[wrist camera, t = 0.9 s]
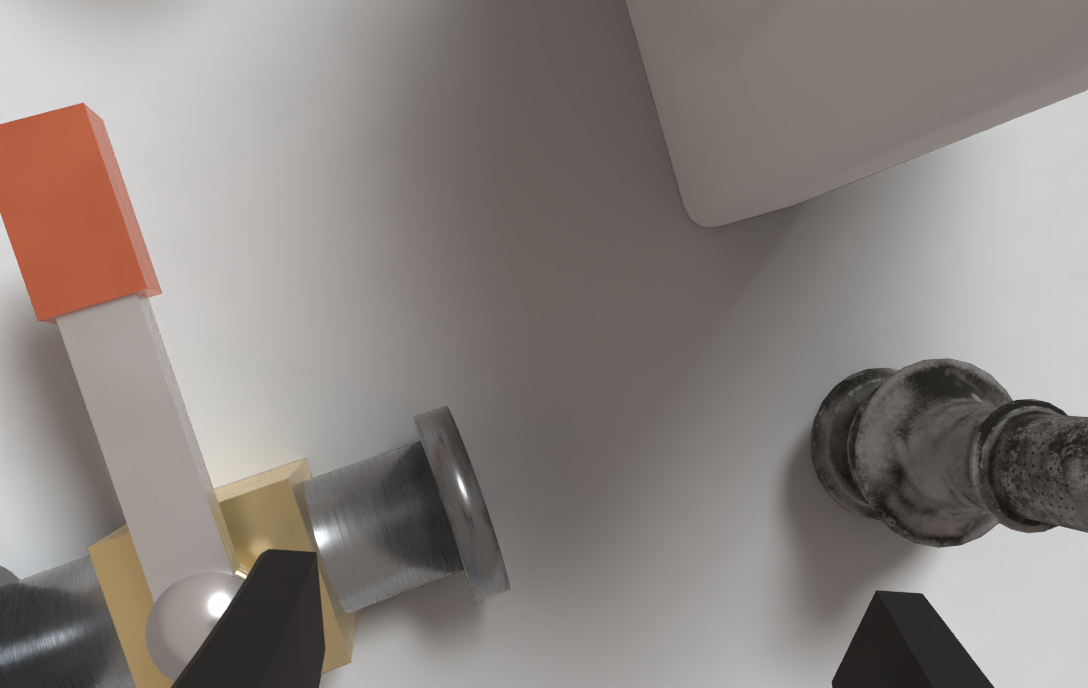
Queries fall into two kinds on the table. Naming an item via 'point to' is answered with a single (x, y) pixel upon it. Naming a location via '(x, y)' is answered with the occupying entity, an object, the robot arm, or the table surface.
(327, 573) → the valve
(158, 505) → the valve lever
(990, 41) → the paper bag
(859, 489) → the salt shaker
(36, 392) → the table surface
